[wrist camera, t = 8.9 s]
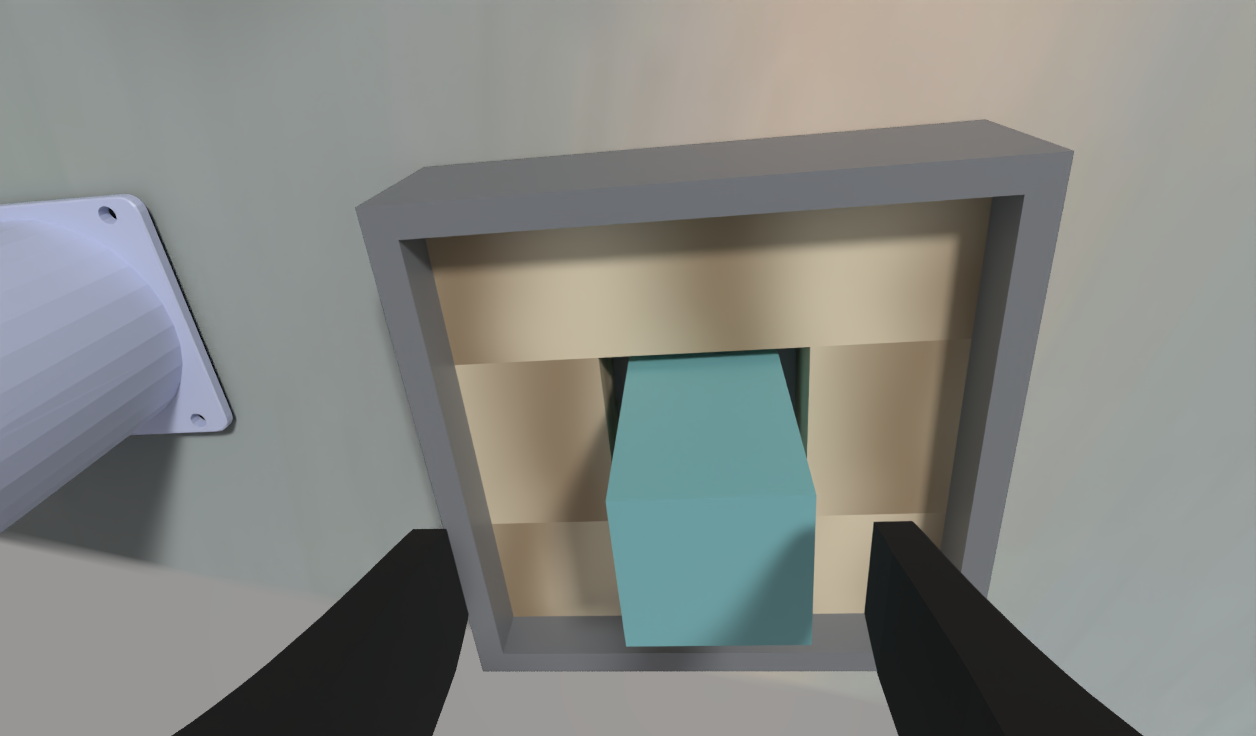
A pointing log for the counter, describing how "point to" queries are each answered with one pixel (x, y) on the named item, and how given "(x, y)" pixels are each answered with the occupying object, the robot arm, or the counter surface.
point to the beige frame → (713, 322)
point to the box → (769, 183)
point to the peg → (711, 503)
